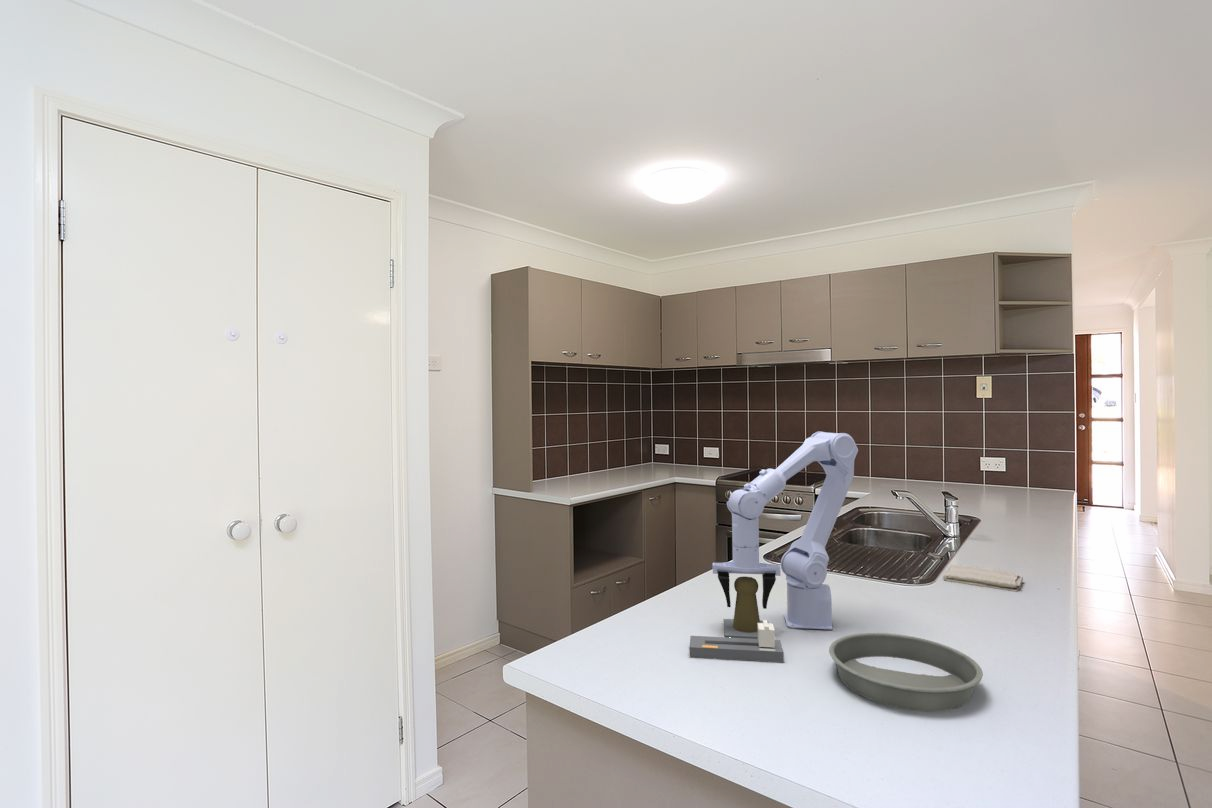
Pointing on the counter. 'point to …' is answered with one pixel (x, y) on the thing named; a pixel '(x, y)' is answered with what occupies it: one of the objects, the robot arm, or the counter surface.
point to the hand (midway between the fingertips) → (746, 606)
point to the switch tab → (766, 634)
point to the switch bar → (734, 649)
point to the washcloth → (983, 577)
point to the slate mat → (733, 633)
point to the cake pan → (901, 685)
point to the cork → (746, 605)
